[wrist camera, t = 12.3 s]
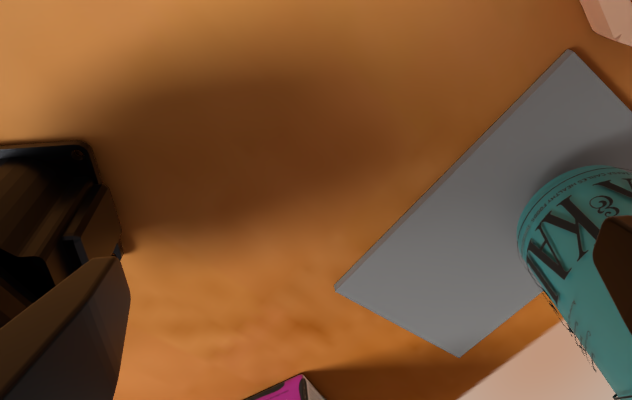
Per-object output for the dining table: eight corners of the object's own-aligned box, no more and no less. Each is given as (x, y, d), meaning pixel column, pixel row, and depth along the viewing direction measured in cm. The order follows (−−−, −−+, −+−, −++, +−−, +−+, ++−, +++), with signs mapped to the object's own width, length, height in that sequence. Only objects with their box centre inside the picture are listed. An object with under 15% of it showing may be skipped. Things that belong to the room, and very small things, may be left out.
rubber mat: (456, 351, 30) (458, 358, 30) (333, 285, 27) (335, 291, 26) (683, 168, 24) (690, 173, 24) (567, 48, 21) (573, 51, 20)
